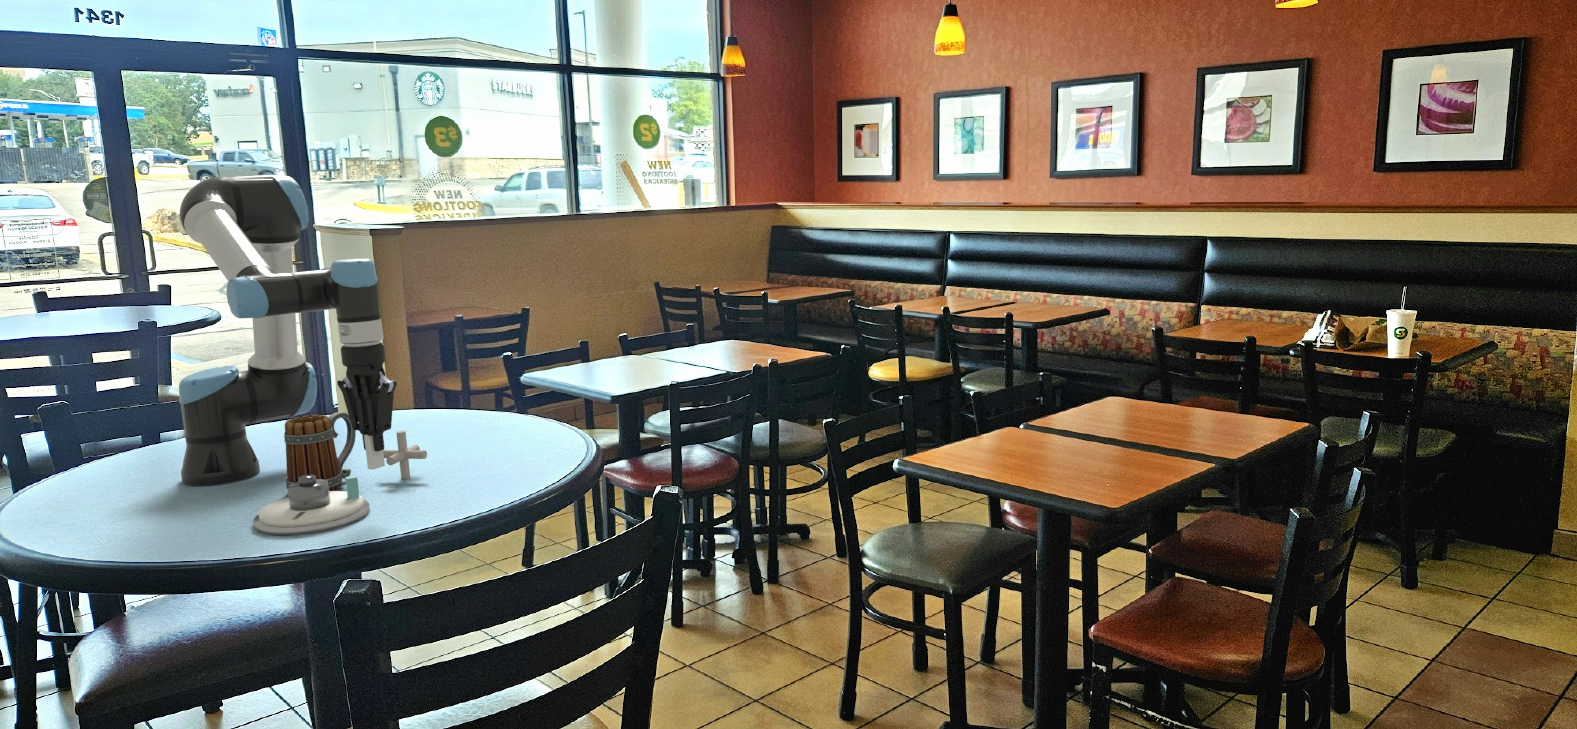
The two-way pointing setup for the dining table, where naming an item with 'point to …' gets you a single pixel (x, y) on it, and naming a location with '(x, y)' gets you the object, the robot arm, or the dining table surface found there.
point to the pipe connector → (403, 454)
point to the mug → (317, 449)
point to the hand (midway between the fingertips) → (376, 467)
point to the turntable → (337, 509)
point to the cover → (308, 493)
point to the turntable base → (312, 528)
